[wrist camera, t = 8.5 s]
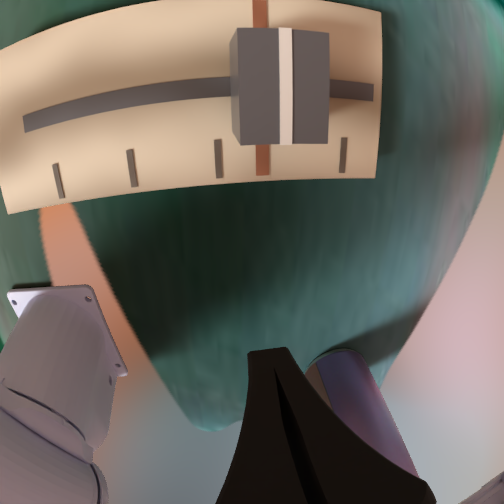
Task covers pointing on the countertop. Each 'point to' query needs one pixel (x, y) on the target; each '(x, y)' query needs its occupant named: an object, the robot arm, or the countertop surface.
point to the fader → (279, 86)
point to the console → (172, 101)
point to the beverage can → (358, 402)
